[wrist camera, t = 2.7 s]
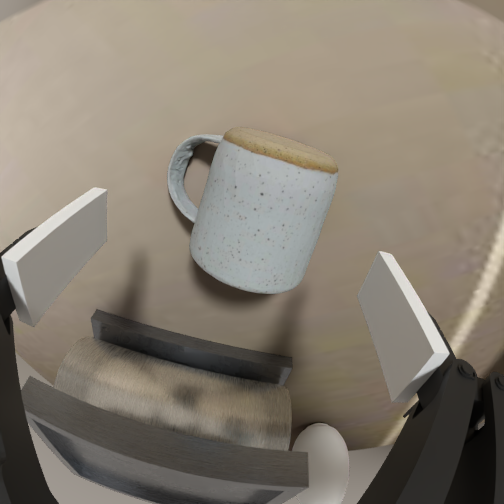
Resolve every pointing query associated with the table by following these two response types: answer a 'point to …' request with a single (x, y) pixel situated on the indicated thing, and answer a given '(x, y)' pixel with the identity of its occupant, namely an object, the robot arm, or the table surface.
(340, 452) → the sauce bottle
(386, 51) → the table surface
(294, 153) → the ceramic mug
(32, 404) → the grey piece
